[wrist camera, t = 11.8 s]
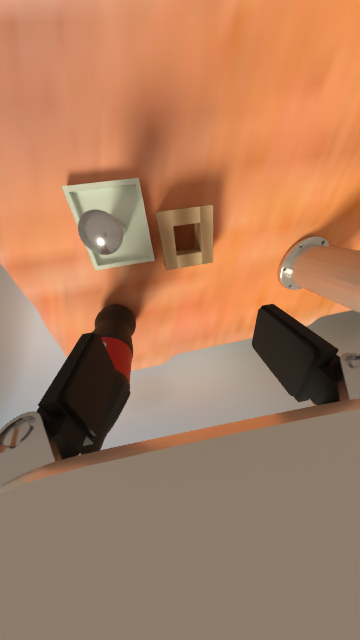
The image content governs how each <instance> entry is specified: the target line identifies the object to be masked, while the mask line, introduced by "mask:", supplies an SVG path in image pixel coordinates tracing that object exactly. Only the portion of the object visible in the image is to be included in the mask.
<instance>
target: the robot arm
mask: <svg viewBox="0 0 360 640" xmlns="http://www.w3.org/2000/svg"><path fill="white" fill-rule="evenodd" d="M278 275H279V281H280V283H281V284H282V285H283V286H284V287H285V288H287V289H291V290H297V289H301V288H304V289H306V290H308V291H311V292H313V293H315V294H318V295H320V296H322V297H325V298H327V299H329V300H331V301H334V302H336V303H338V304H341V305H343V306H345V307H348V308H350V309H352V310H355V311H357V312H359V313H360V251H359V250H353V249H346V248H339V247H332V246H330V245H329V243H328V241H327V240H326V239H324V238H323V237H318V236H311V237H307V238H304V239H302V240H301V241H299V242H298V243H296V244H295V245H294V246H293V247H292V248H291V249H290V250H289V251H288V252H287V254H286V255H285V257H284V258H283V260H282V262H281V264H280V268H279V274H278ZM252 346H253V348H254V350H255V351H256V352H257V353H258V355H259V356H260V357H261V359H262V360H263V361H264V362H265V364H266V365H267V366H268V368H269V369H270V370H271V371H272V373H273V374H274V375H275V377H276V378H277V379H278V380H279V382H280V383H281V384H282V386H283V387H284V388H285V389H286V390H287V392H288V393H289V394H290V395H291V396H294V397H295V399H296V400H297V401H298V402H302V401H306V400H309V398H310V400H311V401H312V402H313V406H312V407H307V408H302V409H297V410H292V411H287V412H282V413H277V414H273V415H267V416H262V417H257V418H252V419H247V420H242V421H238V422H233V423H228V424H224V425H219V426H213V427H209V428H204V429H199V430H194V431H189V432H185V433H179V434H175V435H170V436H166V437H161V438H156V439H151V440H147V441H142V442H137V443H133V444H128V445H123V446H118V447H114V448H109V449H105V450H101V451H96V452H92V453H88V454H83V455H81V454H80V453H81V450H82V447H83V446H86V445H91V444H94V442H95V438H96V436H97V435H99V433H100V430H101V426H102V422H103V418H104V414H105V410H106V406H107V403H108V399H109V395H110V391H111V387H112V383H113V379H114V375H115V366H114V364H113V362H112V360H111V358H110V356H109V354H108V352H107V349H106V347H105V345H104V343H103V341H102V339H101V337H100V335H99V334H96V333H94V332H93V333H86V334H83V335H82V336H81V337H80V339H79V340H78V342H77V344H76V345H75V347H74V348H73V350H72V352H71V353H70V355H69V356H68V358H67V360H66V361H65V363H64V364H63V366H62V368H61V369H60V371H59V372H58V374H57V376H56V377H55V379H54V380H53V382H52V384H51V385H50V387H49V388H48V390H47V391H46V393H45V395H44V396H43V398H42V399H41V401H40V403H39V404H38V406H39V408H38V410H37V412H34V411H33V412H27V413H24V414H21V415H19V416H18V417H16V418H14V419H13V420H11V421H10V422H8V423H7V424H6V425H5V426H4V427H3V428H2V429H1V430H0V640H360V354H357V353H344V354H342V355H341V356H340V357H339V356H338V355H336V354H337V352H338V349H337V348H335V347H334V346H333V345H331V344H330V343H328V342H327V341H325V340H324V339H323V338H321V337H320V336H318V335H317V334H315V333H314V332H312V331H311V330H310V329H308V328H307V327H305V326H304V325H303V324H301V323H300V322H298V321H297V320H295V319H294V318H293V317H291V316H290V315H288V314H287V313H285V312H284V311H283V310H281V309H280V308H278V307H277V306H275V305H274V304H269V305H263V306H262V307H261V308H260V309H259V310H258V314H257V319H256V325H255V330H254V335H253V340H252Z"/></svg>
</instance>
